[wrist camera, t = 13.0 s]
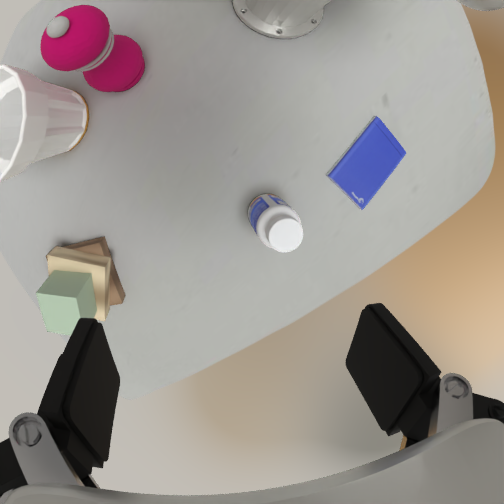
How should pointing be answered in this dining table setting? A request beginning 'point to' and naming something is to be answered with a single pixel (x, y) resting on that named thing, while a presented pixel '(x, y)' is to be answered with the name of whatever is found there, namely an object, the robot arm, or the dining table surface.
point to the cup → (36, 120)
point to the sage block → (66, 300)
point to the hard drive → (367, 163)
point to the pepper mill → (92, 49)
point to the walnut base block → (101, 248)
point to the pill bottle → (275, 223)
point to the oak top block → (86, 264)
